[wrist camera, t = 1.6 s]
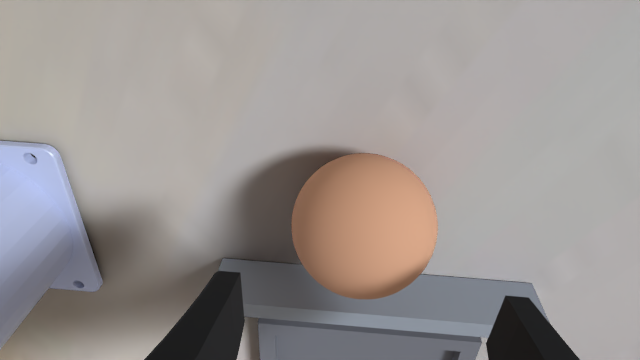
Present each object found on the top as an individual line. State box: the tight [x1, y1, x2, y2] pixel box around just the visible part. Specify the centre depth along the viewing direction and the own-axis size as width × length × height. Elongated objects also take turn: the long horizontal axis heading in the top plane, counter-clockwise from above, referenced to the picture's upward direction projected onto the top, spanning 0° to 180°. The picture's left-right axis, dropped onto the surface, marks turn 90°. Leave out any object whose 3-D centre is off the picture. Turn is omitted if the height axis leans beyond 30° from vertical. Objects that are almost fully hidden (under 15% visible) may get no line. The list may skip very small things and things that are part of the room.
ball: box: [291, 153, 438, 300], centre depth 15 cm, size 5×5×5 cm
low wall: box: [218, 258, 549, 338], centre depth 19 cm, size 14×1×2 cm, turn 88°
